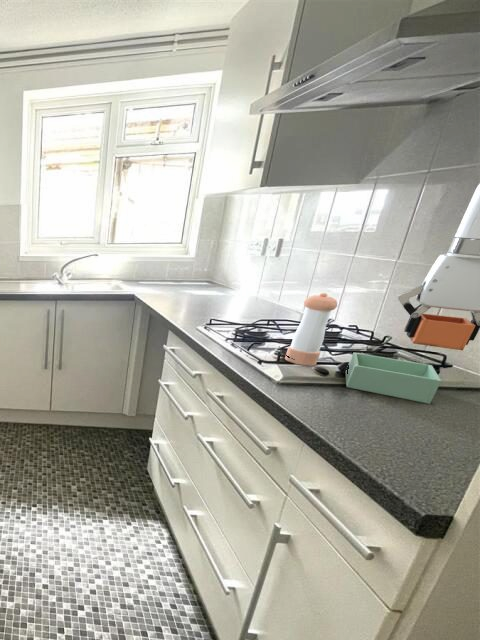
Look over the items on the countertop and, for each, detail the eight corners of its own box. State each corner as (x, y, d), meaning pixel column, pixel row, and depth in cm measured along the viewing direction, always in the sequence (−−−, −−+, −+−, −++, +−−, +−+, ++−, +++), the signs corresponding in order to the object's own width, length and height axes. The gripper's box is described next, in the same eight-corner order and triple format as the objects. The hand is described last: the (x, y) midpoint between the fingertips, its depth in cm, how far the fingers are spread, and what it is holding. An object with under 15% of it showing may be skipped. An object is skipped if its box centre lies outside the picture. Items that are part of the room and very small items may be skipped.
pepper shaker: (322, 363, 116) (348, 294, 108) (305, 367, 113) (331, 297, 105) (294, 355, 122) (317, 289, 114) (278, 358, 119) (300, 291, 112)
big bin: (421, 386, 102) (432, 365, 99) (429, 403, 93) (441, 381, 91) (345, 372, 110) (353, 352, 108) (346, 387, 101) (355, 365, 99)
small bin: (454, 341, 86) (466, 318, 84) (462, 350, 81) (475, 325, 79) (407, 335, 90) (418, 313, 88) (413, 343, 85) (423, 319, 83)
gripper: (543, 250, 76) (493, 343, 83) (411, 244, 86) (376, 328, 93) (560, 254, 70) (505, 353, 78) (417, 247, 80) (380, 335, 87)
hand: (435, 338), depth 85 cm, fingers closed on small bin, 7 cm apart
